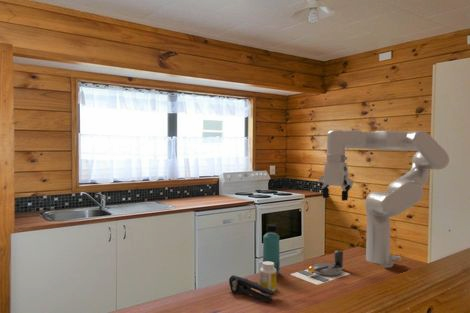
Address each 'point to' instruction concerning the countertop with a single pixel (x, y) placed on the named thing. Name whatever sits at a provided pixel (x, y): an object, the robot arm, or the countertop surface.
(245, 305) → the countertop surface
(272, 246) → the beverage bottle
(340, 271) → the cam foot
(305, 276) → the stand
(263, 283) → the supplement bottle
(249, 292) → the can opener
